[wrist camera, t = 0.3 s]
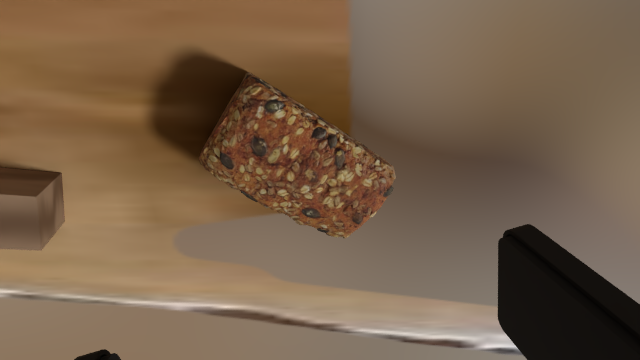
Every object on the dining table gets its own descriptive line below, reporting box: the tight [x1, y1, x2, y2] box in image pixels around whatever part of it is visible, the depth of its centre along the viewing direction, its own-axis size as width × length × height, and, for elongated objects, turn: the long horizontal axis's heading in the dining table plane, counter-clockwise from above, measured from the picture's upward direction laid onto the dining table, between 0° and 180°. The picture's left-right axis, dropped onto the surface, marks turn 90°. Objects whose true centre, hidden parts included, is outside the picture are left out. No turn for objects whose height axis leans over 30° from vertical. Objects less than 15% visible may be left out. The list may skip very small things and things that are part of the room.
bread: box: [199, 72, 396, 238], centre depth 42 cm, size 19×11×10 cm, turn 54°
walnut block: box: [0, 167, 65, 250], centre depth 40 cm, size 6×6×6 cm
